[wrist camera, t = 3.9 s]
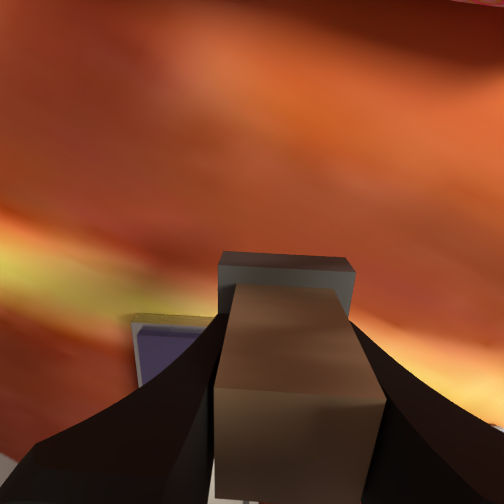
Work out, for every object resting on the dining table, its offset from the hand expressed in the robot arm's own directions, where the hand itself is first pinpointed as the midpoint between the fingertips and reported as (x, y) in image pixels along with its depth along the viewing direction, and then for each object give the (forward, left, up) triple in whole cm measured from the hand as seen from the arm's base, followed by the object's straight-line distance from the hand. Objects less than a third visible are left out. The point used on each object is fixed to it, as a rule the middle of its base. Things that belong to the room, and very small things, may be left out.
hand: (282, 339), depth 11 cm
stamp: (0, 0, -2) cm, 2 cm away
